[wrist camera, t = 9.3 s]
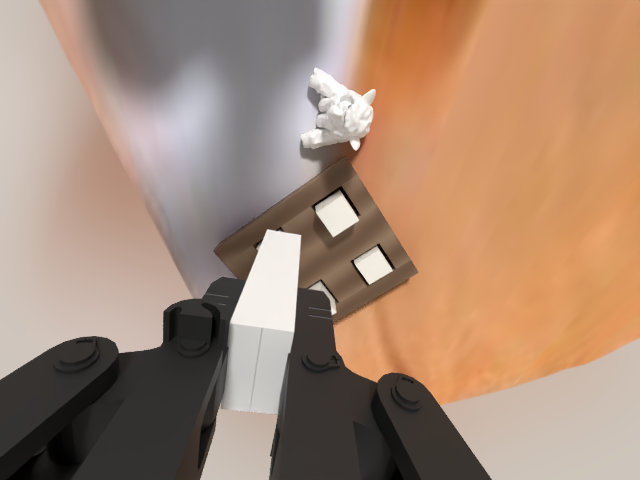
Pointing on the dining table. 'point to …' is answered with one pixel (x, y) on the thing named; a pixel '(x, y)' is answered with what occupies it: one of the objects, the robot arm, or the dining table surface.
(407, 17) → the dining table surface
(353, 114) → the seated beast figurine
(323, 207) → the button
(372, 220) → the board
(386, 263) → the button
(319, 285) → the button
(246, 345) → the robot arm
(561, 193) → the dining table surface
